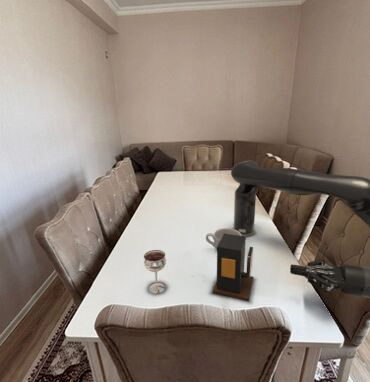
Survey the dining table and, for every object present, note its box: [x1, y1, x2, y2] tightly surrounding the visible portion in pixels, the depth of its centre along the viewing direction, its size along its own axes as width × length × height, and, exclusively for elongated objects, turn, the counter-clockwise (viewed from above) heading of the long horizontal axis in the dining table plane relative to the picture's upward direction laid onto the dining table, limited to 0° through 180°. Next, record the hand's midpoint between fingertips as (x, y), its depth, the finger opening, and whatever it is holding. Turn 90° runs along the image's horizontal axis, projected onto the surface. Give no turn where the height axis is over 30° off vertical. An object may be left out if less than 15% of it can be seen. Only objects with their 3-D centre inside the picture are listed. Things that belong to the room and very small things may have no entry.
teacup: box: [205, 227, 242, 252], centre depth 100 cm, size 14×11×8 cm
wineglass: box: [143, 249, 167, 294], centre depth 79 cm, size 7×7×12 cm
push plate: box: [245, 246, 254, 278], centre depth 76 cm, size 6×1×7 cm, turn 159°
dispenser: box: [212, 233, 254, 302], centre depth 78 cm, size 11×11×16 cm
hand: (290, 268), depth 72 cm, fingers closed
